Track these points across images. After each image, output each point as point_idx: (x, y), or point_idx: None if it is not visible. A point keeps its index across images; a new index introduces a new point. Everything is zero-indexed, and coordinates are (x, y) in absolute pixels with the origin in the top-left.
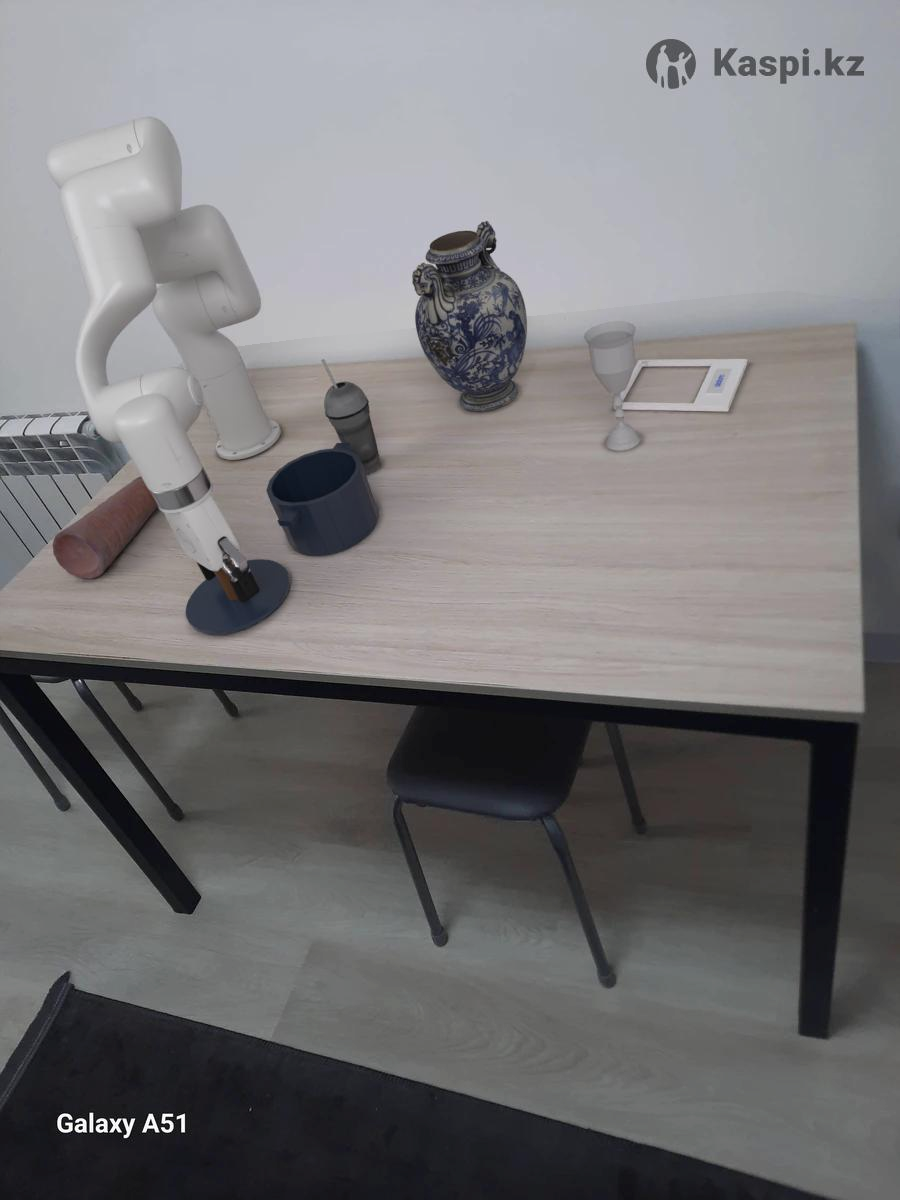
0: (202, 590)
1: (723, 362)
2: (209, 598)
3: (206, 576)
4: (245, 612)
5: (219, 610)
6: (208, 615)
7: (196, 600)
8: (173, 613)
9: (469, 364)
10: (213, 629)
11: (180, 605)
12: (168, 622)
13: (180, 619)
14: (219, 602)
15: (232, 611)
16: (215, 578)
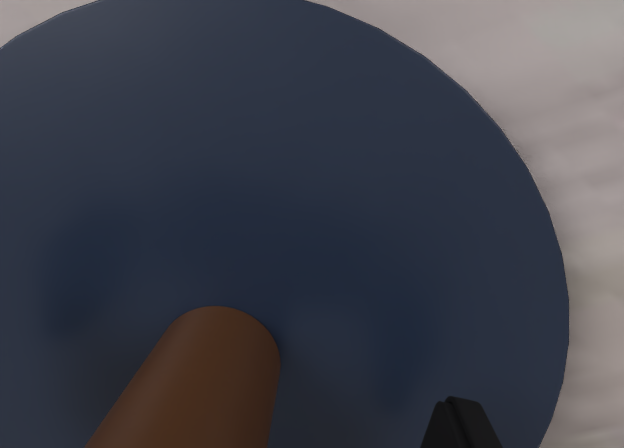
0: (503, 317)
1: None
2: (387, 272)
3: (457, 425)
4: (13, 245)
5: (213, 202)
6: (255, 133)
7: (474, 225)
8: (621, 97)
9: None
10: (92, 27)
11: (619, 176)
12: (598, 8)
13: (519, 67)
14: (276, 263)
15: (111, 224)
16: None
